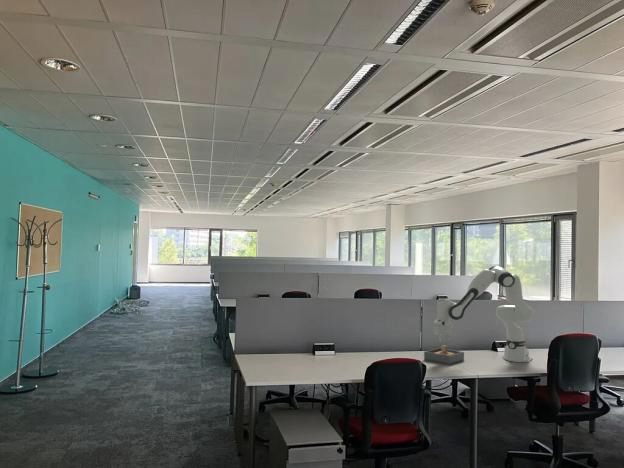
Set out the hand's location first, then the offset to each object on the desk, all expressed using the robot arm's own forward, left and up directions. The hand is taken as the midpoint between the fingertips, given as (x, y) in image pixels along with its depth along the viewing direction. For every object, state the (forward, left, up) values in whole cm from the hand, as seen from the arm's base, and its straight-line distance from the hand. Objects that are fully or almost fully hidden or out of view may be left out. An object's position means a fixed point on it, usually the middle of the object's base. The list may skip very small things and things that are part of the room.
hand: (443, 340), depth 331 cm
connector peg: (+1, +1, -13) cm, 13 cm away
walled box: (+1, +1, -14) cm, 14 cm away
